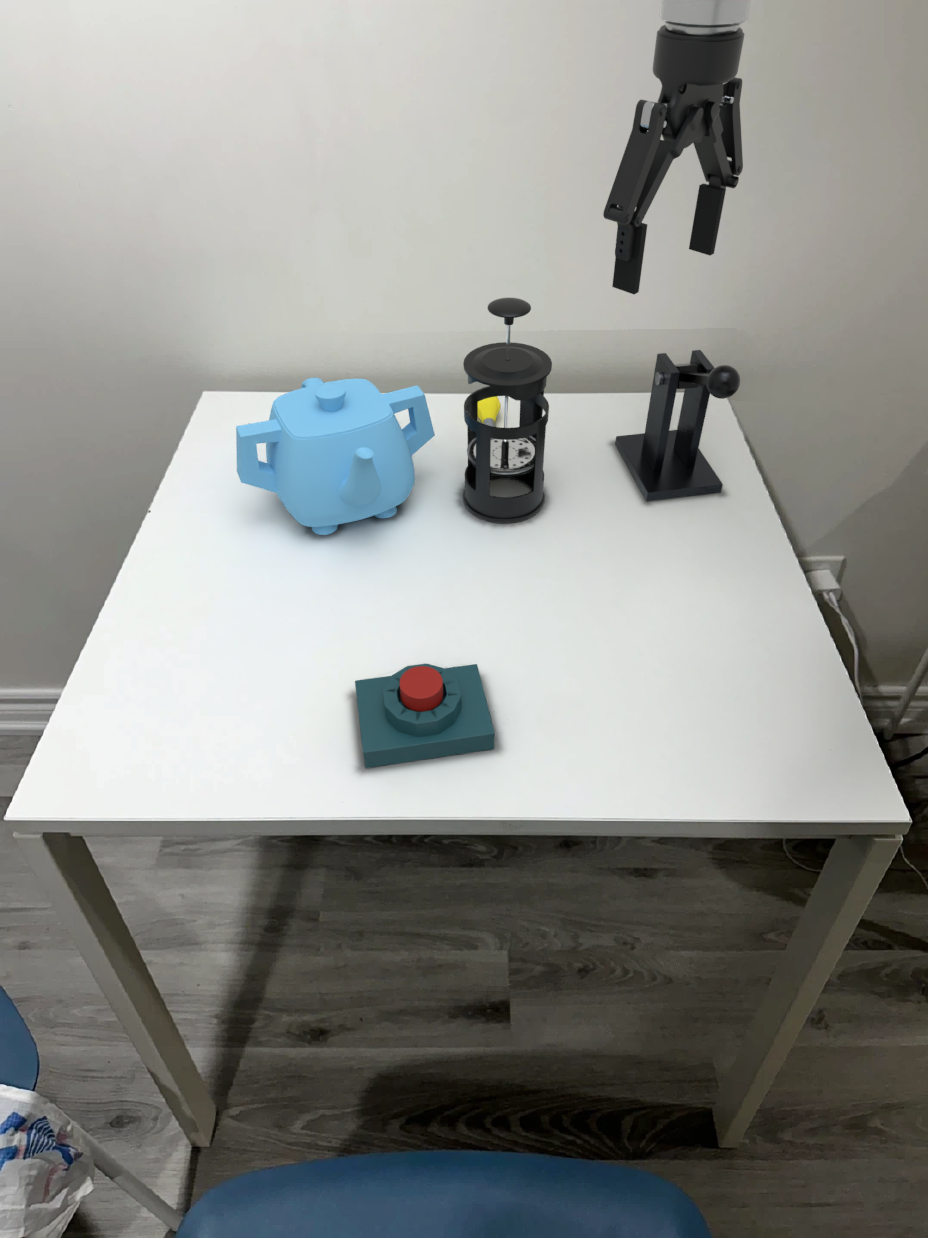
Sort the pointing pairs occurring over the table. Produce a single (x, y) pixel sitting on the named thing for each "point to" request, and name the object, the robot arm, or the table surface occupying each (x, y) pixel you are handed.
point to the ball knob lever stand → (671, 438)
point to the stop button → (421, 688)
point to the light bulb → (488, 410)
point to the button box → (423, 719)
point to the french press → (506, 423)
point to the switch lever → (710, 379)
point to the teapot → (336, 451)
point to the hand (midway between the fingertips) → (664, 270)
